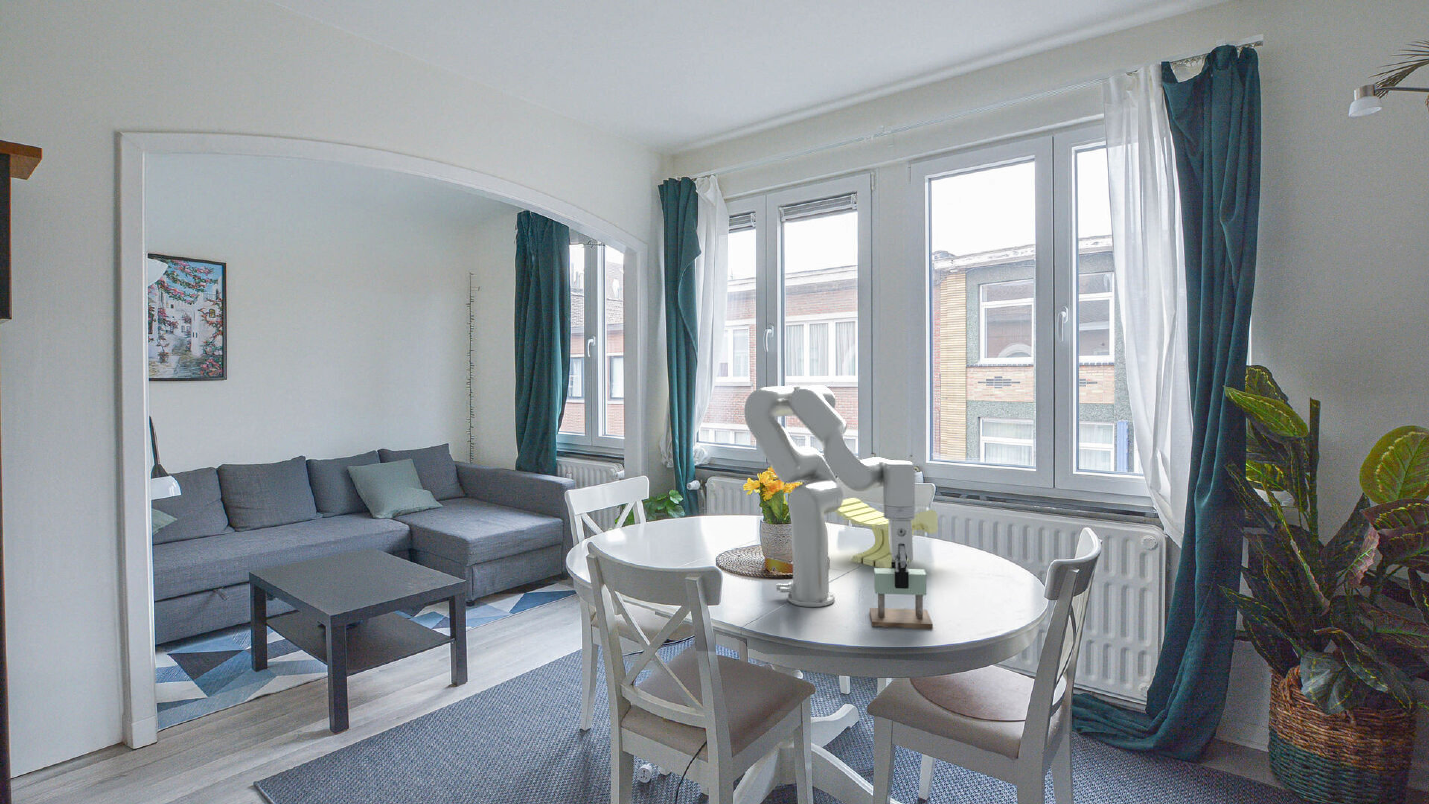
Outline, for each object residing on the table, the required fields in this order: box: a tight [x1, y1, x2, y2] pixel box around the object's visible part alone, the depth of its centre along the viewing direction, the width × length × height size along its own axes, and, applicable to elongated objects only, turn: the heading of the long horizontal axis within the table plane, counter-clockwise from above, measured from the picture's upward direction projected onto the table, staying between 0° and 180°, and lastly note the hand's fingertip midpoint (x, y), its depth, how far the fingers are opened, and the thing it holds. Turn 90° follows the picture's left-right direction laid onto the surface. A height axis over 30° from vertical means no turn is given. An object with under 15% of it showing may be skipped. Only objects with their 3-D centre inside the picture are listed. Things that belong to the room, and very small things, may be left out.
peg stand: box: [869, 594, 934, 630], centre depth 174 cm, size 14×10×7 cm
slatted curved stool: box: [833, 497, 939, 569], centre depth 228 cm, size 30×16×18 cm, turn 42°
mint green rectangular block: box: [873, 567, 927, 596], centre depth 173 cm, size 4×12×5 cm, turn 81°
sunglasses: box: [763, 556, 793, 573], centre depth 220 cm, size 14×15×5 cm
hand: (899, 582), depth 173 cm, fingers open, 8 cm apart
